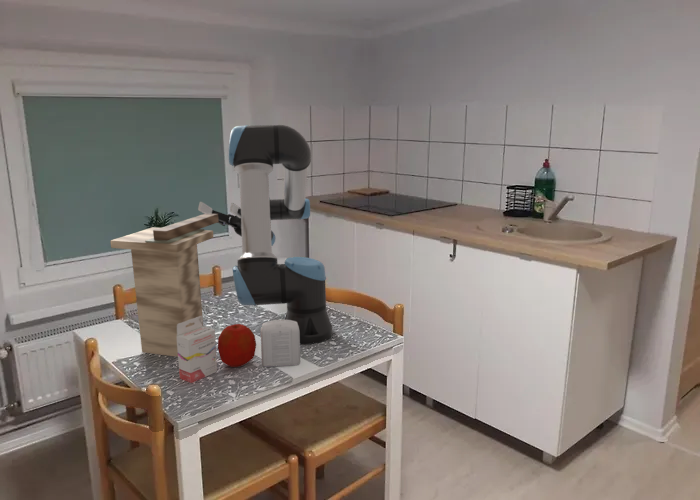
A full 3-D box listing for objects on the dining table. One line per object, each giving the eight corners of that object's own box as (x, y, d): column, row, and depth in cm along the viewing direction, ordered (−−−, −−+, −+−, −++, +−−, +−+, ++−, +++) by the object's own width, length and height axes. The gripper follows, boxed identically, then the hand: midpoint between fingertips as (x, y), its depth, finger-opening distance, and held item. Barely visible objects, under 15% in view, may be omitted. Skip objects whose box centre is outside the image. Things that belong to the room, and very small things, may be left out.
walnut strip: (206, 221, 170) (206, 213, 170) (218, 222, 169) (218, 213, 169) (153, 239, 146) (153, 230, 146) (167, 240, 145) (166, 231, 144)
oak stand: (162, 332, 172) (152, 226, 164) (220, 339, 167) (212, 229, 159) (123, 356, 156) (110, 239, 148) (186, 365, 150) (176, 243, 142)
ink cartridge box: (192, 384, 139) (187, 328, 136) (179, 379, 142) (174, 324, 139) (218, 371, 146) (214, 318, 143) (205, 366, 149) (201, 314, 145)
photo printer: (300, 359, 153) (298, 316, 150) (301, 365, 149) (299, 322, 146) (261, 361, 151) (259, 318, 148) (261, 368, 147) (259, 324, 144)
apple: (244, 374, 144) (241, 332, 141) (210, 369, 147) (207, 327, 145) (263, 359, 153) (261, 319, 150) (232, 353, 157) (229, 314, 154)
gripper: (276, 240, 189) (246, 219, 168) (217, 236, 196) (181, 216, 176) (280, 219, 190) (251, 196, 170) (221, 216, 198) (186, 193, 177)
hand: (215, 206), depth 173 cm, fingers open, 10 cm apart
